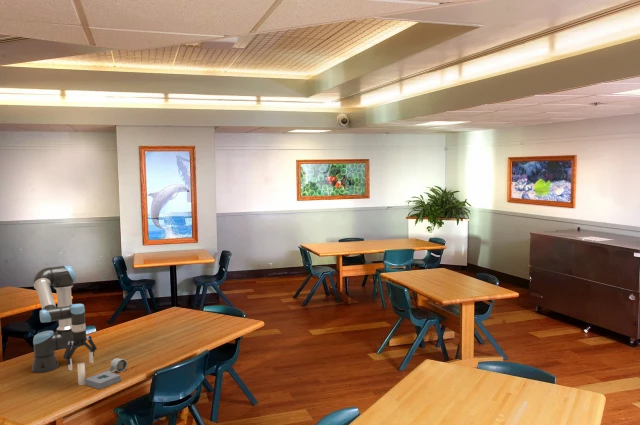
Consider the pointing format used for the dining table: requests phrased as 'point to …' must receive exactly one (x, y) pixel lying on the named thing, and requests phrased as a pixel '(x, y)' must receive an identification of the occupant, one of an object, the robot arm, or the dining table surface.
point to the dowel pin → (81, 373)
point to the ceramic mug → (118, 365)
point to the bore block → (102, 380)
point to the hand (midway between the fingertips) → (81, 366)
